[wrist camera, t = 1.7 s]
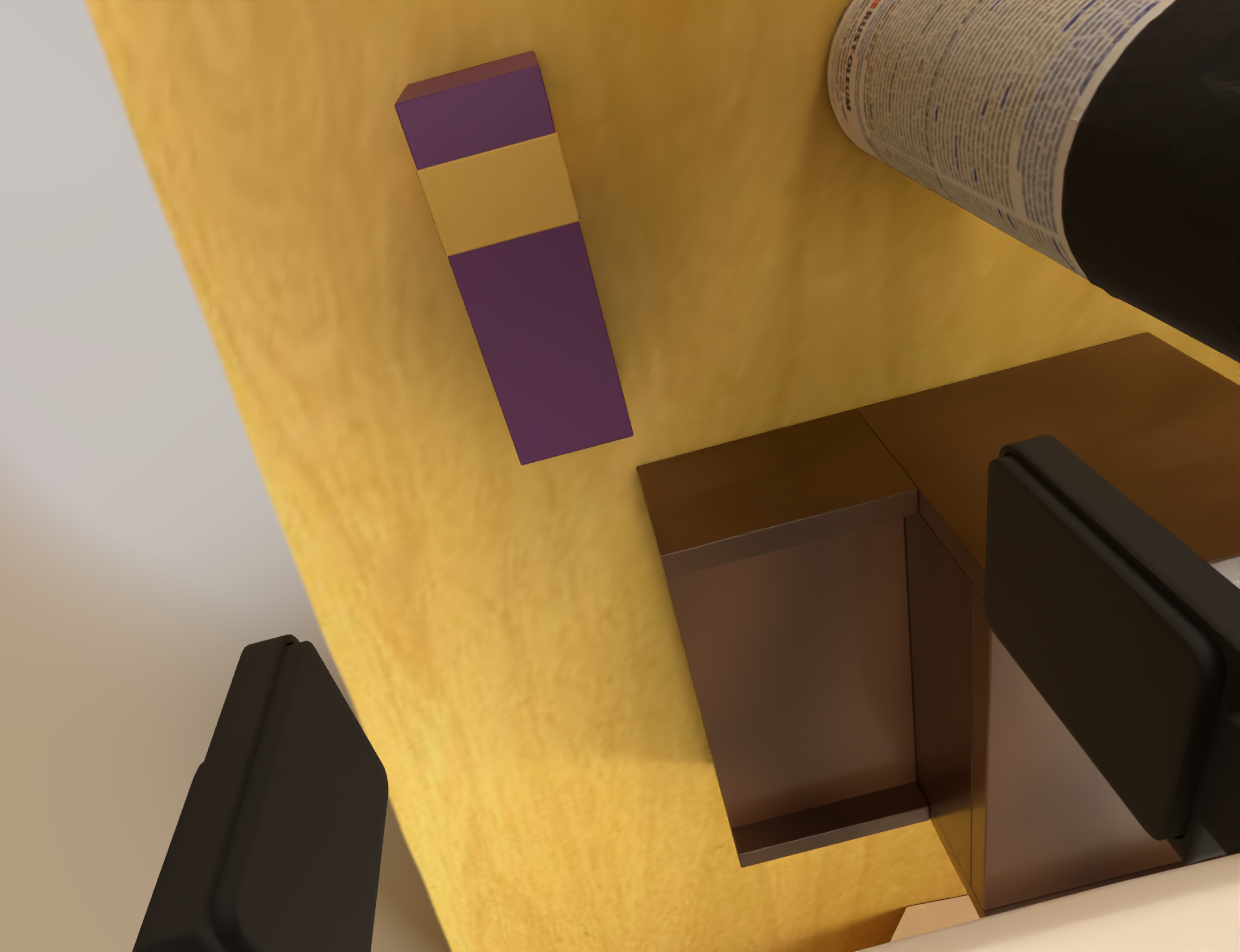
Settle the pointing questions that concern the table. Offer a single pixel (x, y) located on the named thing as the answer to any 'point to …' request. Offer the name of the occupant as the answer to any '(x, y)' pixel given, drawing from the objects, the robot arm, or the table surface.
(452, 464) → the table surface
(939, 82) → the spray can
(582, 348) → the purple banded block
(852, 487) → the step rack
